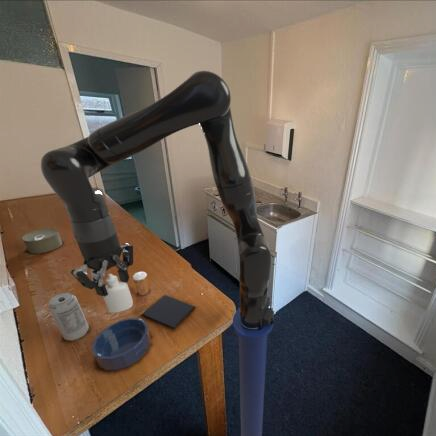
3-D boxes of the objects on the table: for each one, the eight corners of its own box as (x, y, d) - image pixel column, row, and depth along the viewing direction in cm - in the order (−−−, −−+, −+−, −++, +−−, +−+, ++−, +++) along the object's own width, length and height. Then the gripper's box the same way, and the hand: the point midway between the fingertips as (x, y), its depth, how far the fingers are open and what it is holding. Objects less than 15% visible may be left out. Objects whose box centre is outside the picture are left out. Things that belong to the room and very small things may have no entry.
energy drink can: (85, 322, 77) (70, 288, 71) (92, 332, 74) (77, 297, 68) (61, 334, 73) (43, 299, 66) (68, 345, 70) (50, 309, 63)
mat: (194, 307, 86) (194, 306, 86) (174, 329, 78) (173, 327, 78) (165, 296, 90) (164, 295, 90) (142, 315, 82) (141, 313, 81)
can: (65, 238, 120) (60, 226, 117) (60, 250, 111) (55, 237, 108) (32, 243, 114) (26, 231, 111) (24, 256, 105) (17, 243, 102)
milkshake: (132, 296, 89) (126, 275, 85) (143, 287, 94) (138, 267, 89) (141, 299, 88) (136, 278, 84) (153, 289, 93) (148, 269, 89)
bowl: (160, 338, 74) (157, 326, 72) (120, 378, 63) (115, 366, 61) (129, 324, 78) (125, 312, 76) (86, 360, 67) (80, 347, 64)
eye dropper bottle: (116, 301, 68) (105, 268, 62) (136, 302, 68) (126, 269, 62) (105, 313, 64) (92, 279, 58) (126, 314, 64) (115, 280, 58)
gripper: (72, 252, 48) (97, 311, 55) (135, 224, 60) (148, 275, 68) (48, 244, 50) (75, 302, 57) (114, 218, 62) (129, 269, 70)
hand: (114, 287), depth 62 cm, fingers closed on eye dropper bottle, 5 cm apart
